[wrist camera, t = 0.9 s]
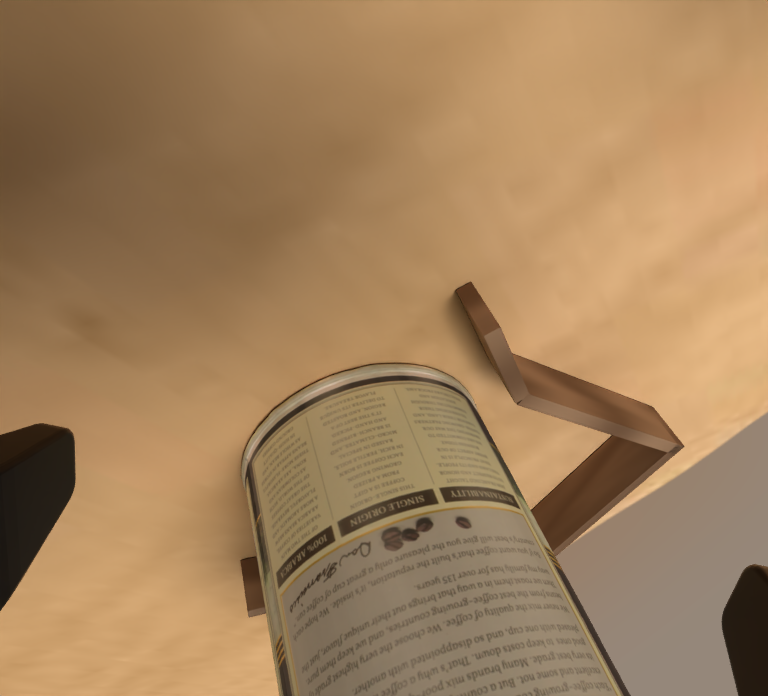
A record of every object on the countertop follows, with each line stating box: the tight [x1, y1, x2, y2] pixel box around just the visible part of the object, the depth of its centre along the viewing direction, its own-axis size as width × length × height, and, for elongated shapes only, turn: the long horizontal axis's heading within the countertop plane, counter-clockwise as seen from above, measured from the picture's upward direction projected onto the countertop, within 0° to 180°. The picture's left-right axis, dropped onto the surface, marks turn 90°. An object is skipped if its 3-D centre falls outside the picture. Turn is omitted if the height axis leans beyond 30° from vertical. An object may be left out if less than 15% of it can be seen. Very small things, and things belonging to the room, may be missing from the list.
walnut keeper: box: [241, 282, 685, 617], centre depth 29 cm, size 14×18×2 cm
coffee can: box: [241, 364, 631, 696], centre depth 22 cm, size 10×10×14 cm
